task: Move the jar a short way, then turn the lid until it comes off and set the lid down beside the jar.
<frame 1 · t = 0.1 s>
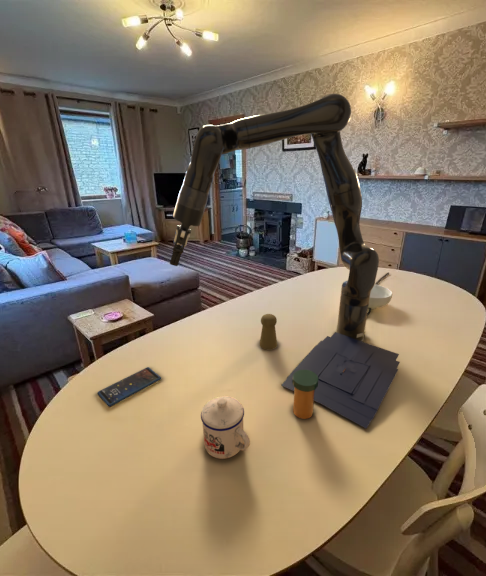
hand: (174, 260, 87), 31 cm above the table, tool tilted 20°, fingers open, 8 cm apart
smartphone: (130, 387, 85), on the table
teacup with lid: (228, 446, 67), on the table
cereal bowl: (368, 305, 132), on the table
brown rounded tall piece: (268, 345, 104), on the table
jar: (302, 411, 76), on the table
lid: (305, 378, 72), point 10 cm above the table, screwed on, not yet turned
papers: (344, 377, 89), on the table
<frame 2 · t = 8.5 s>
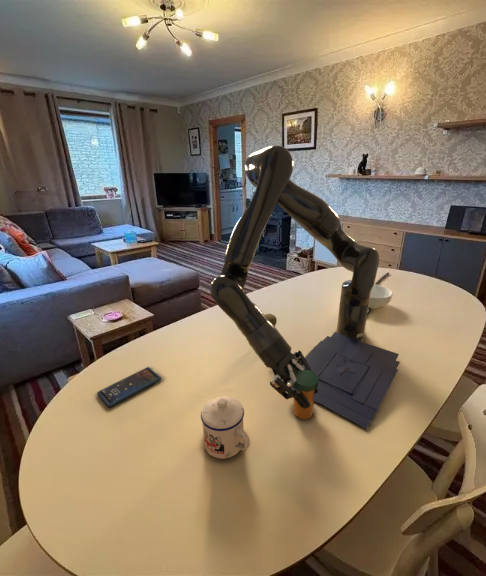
hand: (311, 399, 74), 5 cm above the table, tool tilted 45°, fingers closed on jar, 5 cm apart
jar: (302, 411, 76), on the table, touching gripper
everything else where it was.
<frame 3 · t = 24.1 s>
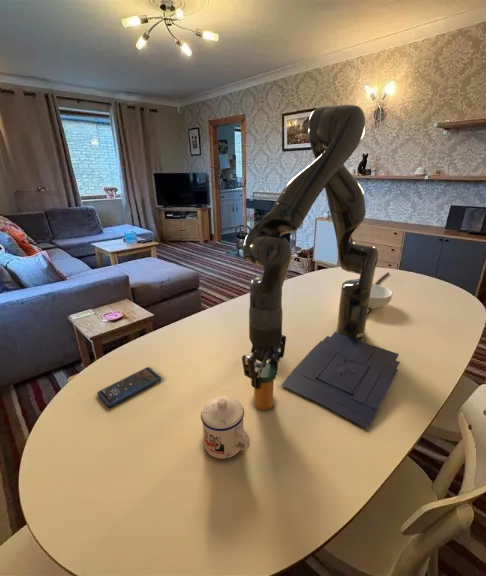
hand: (264, 380, 76), 7 cm above the table, tool pointing down, fingers closed on lid, 6 cm apart
jar: (263, 402, 79), on the table
lid: (263, 370, 75), point 10 cm above the table, screwed on, not yet turned, touching gripper
everything else where it was.
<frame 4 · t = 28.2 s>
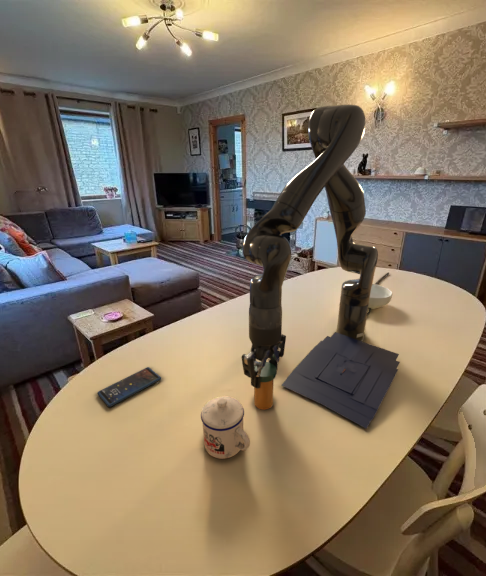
hand: (264, 379, 76), 7 cm above the table, tool pointing down, fingers closed on lid, 6 cm apart
lid: (263, 369, 75), point 10 cm above the table, turned 81° so far, risen 0.2 cm, still on its thread, touching gripper
everything else where it was.
when the fingers open (0 cm above the table, at t = 37.4 s): lid drops 1 cm, resting on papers.
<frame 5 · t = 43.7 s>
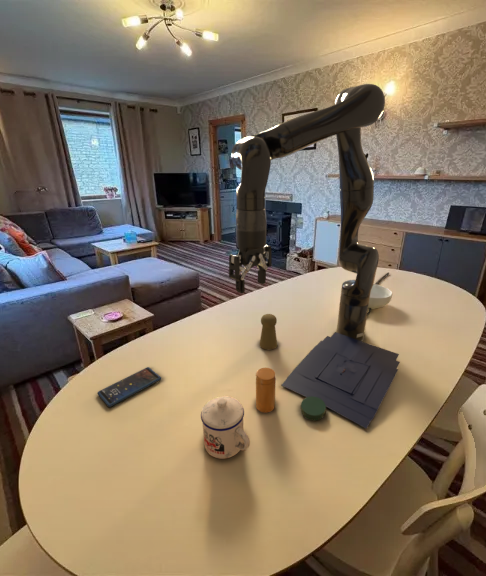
hand: (251, 287, 82), 26 cm above the table, tool pointing down, fingers open, 8 cm apart
jar: (265, 405, 78), on the table
lid: (313, 406, 76), point 2 cm above the table, tilted 5°, off its thread, touching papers
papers: (344, 377, 89), on the table, touching lid
everything else where it was.
at the end: lid came off its thread; lid point 1.7 cm above the table; the gripper is holding nothing; jar inside the target area (0.8 cm from its centre), on the table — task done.
